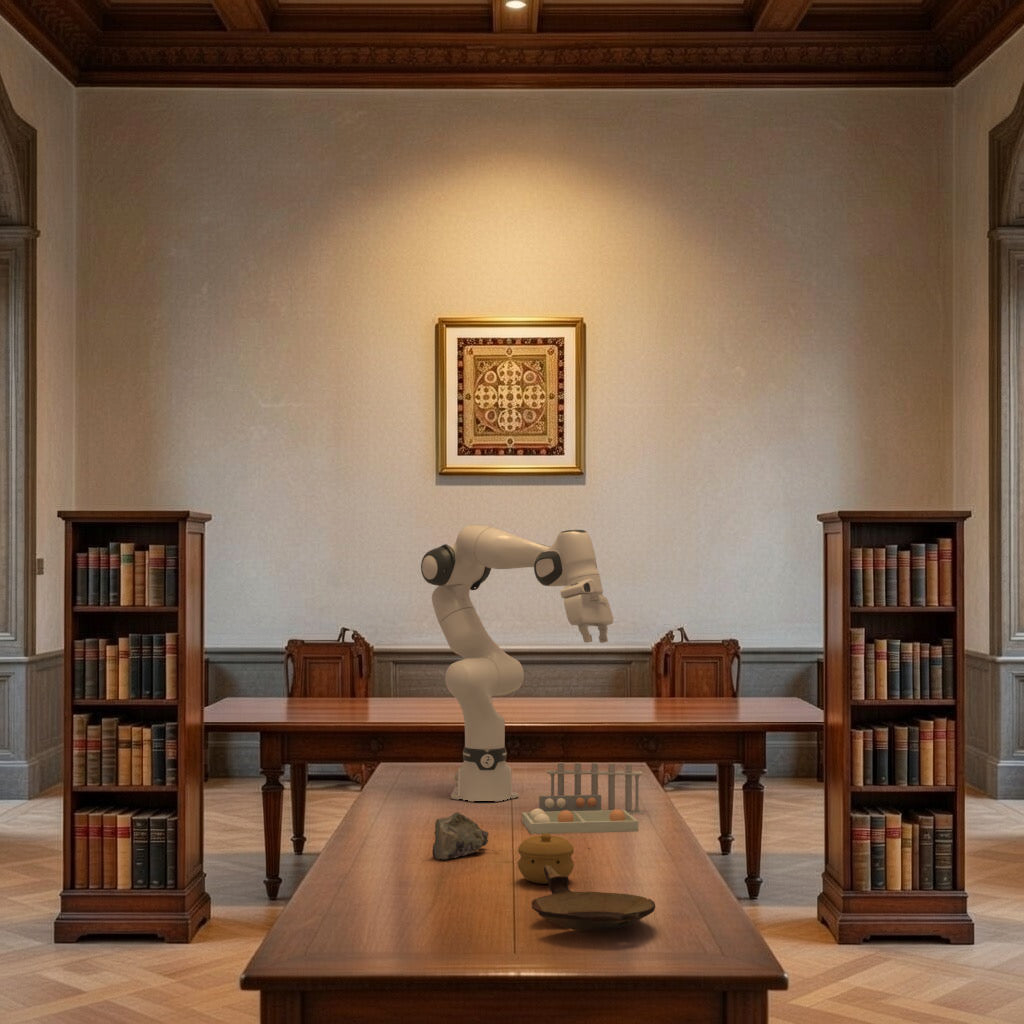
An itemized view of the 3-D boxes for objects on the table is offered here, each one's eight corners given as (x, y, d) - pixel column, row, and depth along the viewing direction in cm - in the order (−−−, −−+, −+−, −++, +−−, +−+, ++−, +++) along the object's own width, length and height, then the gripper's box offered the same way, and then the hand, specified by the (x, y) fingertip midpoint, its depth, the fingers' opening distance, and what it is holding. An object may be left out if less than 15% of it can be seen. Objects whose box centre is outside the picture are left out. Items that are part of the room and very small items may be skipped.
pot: (534, 891, 279) (534, 841, 279) (507, 878, 289) (507, 830, 290) (584, 884, 284) (584, 836, 285) (556, 872, 295) (556, 825, 295)
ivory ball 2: (532, 828, 338) (532, 812, 339) (548, 828, 339) (548, 811, 339) (535, 831, 335) (535, 815, 335) (551, 831, 335) (551, 814, 335)
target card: (539, 819, 353) (539, 795, 353) (600, 818, 355) (600, 794, 355) (539, 820, 352) (539, 796, 352) (601, 819, 354) (601, 795, 354)
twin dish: (522, 824, 347) (522, 812, 347) (625, 821, 351) (625, 809, 351) (531, 836, 332) (531, 823, 332) (638, 833, 336) (638, 821, 336)
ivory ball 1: (528, 823, 345) (528, 807, 345) (544, 822, 346) (544, 806, 346) (530, 826, 341) (531, 810, 341) (546, 826, 342) (546, 809, 342)
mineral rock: (488, 851, 316) (488, 806, 317) (491, 861, 306) (491, 815, 306) (431, 851, 315) (431, 807, 316) (432, 862, 305) (433, 816, 305)
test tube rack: (642, 813, 363) (642, 762, 363) (642, 816, 358) (642, 765, 359) (547, 811, 365) (547, 761, 365) (546, 814, 360) (546, 763, 361)
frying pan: (540, 949, 239) (540, 904, 239) (522, 904, 269) (523, 865, 269) (667, 946, 241) (667, 902, 241) (636, 902, 271) (636, 863, 271)
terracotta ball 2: (607, 824, 344) (607, 807, 345) (623, 823, 345) (623, 807, 345) (611, 827, 341) (611, 810, 341) (627, 826, 341) (627, 810, 341)
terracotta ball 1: (556, 825, 343) (556, 809, 343) (572, 824, 343) (572, 808, 343) (559, 828, 339) (559, 812, 339) (575, 828, 339) (575, 811, 339)
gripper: (591, 594, 366) (602, 645, 364) (556, 591, 349) (568, 644, 346) (612, 588, 364) (623, 639, 361) (578, 585, 346) (590, 639, 343)
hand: (596, 642), depth 353 cm, fingers open, 8 cm apart
